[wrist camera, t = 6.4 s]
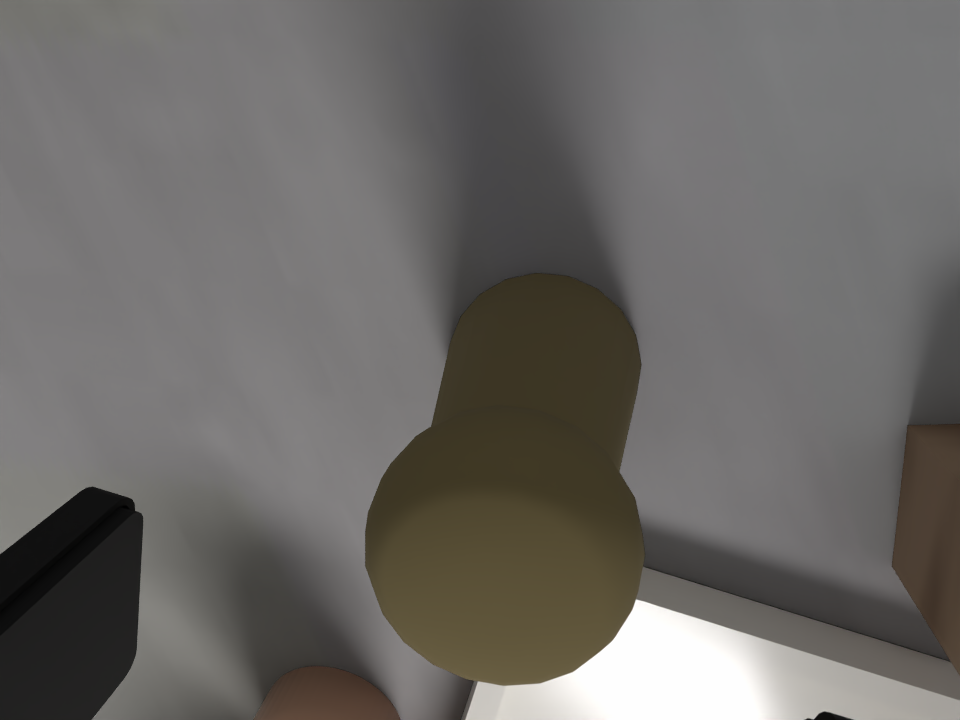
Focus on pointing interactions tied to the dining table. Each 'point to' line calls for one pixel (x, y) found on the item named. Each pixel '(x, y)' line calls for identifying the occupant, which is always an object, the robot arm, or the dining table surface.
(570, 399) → the cork
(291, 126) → the dining table surface
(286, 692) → the peach rounded cylinder
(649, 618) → the tray
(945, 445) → the walnut block
